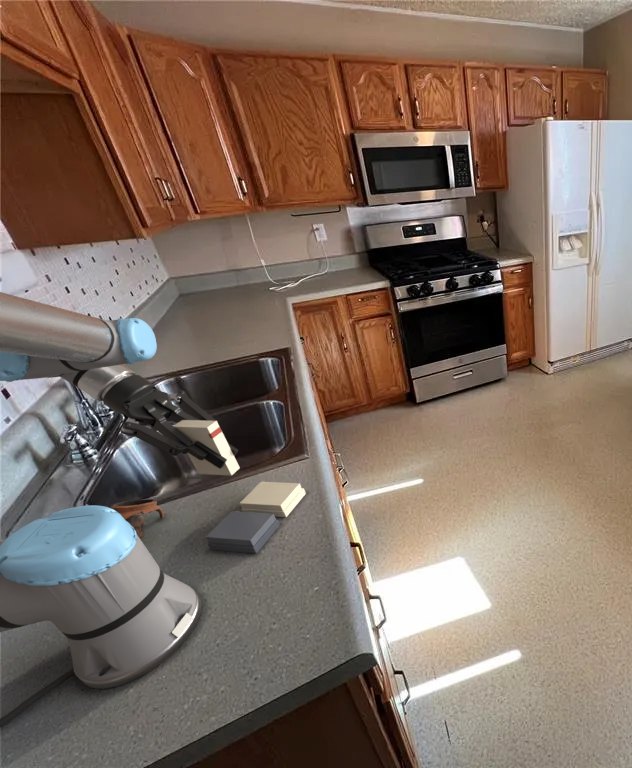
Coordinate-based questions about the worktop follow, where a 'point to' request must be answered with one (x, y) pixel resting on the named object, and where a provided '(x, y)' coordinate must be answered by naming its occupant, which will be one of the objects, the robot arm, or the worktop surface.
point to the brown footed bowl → (137, 512)
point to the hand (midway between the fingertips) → (229, 459)
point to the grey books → (242, 532)
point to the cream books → (273, 498)
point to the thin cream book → (209, 445)
